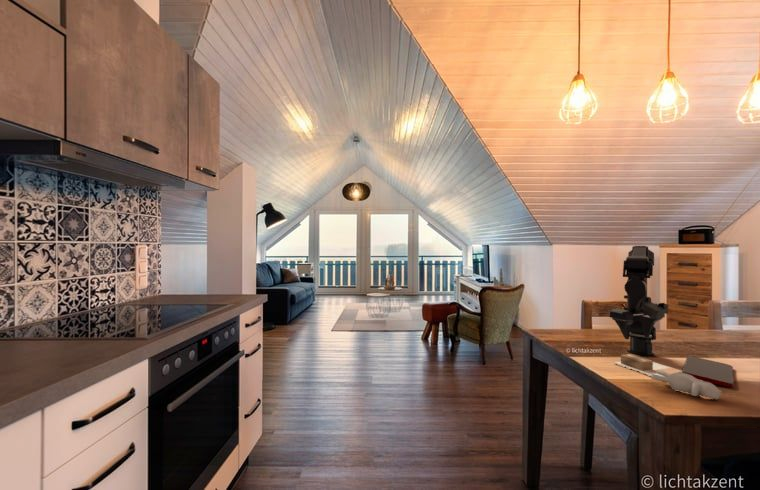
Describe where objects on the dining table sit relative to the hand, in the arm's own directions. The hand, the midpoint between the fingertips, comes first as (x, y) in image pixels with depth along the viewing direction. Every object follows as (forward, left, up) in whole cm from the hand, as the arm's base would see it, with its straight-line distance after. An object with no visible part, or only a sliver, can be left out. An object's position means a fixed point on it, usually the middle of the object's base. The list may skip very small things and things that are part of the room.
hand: (636, 338), depth 125 cm
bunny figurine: (+19, -6, -11) cm, 23 cm away
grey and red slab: (+11, +18, -10) cm, 23 cm away
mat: (+3, +3, -10) cm, 11 cm away
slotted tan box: (0, 0, -10) cm, 10 cm away
